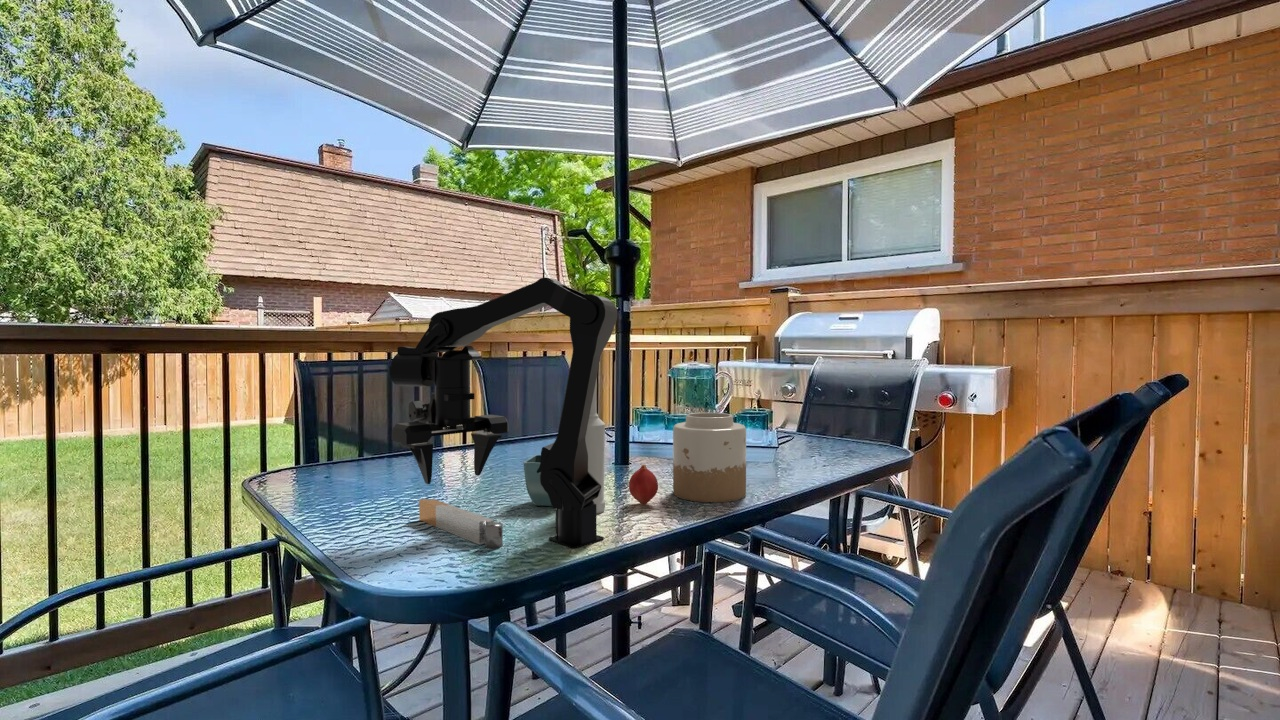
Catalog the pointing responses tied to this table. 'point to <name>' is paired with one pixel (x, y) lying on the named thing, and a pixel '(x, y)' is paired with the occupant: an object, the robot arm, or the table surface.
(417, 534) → the table surface
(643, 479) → the onion
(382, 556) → the table surface
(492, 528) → the base
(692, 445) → the vase
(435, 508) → the tong arm
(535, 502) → the flower pot
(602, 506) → the bottle
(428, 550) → the table surface
